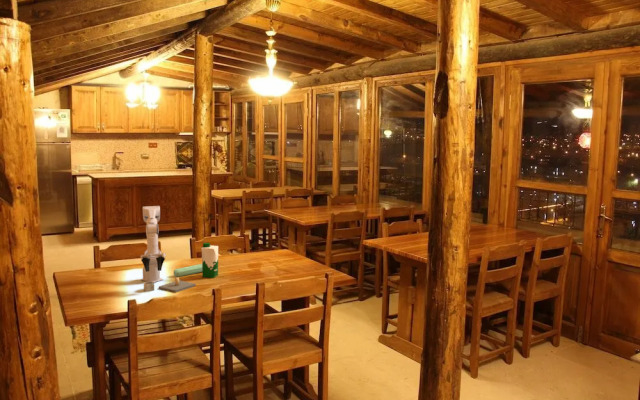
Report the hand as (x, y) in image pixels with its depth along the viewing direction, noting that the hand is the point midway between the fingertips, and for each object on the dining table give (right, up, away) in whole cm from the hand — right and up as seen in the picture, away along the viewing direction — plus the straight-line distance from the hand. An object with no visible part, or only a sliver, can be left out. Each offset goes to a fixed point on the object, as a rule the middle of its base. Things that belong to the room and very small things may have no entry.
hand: (153, 271), depth 302 cm
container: (+13, -6, +36) cm, 39 cm away
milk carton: (+25, -7, +30) cm, 40 cm away
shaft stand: (+11, -10, +7) cm, 16 cm away
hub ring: (-3, -10, +2) cm, 11 cm away
